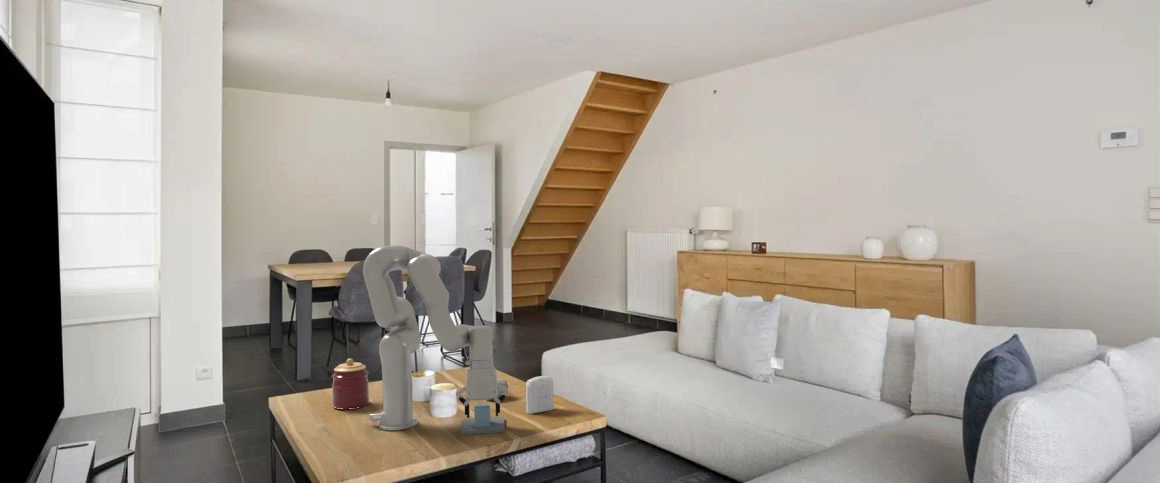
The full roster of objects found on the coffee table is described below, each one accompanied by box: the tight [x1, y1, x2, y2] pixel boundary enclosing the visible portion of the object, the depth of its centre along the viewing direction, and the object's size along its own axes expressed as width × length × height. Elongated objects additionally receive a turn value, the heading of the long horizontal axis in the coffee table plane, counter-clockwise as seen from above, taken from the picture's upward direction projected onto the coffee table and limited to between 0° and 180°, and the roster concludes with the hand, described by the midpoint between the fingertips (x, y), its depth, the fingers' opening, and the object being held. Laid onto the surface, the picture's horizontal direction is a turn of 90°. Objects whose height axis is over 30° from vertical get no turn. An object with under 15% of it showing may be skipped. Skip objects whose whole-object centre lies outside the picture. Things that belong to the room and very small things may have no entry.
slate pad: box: [459, 416, 506, 436], centre depth 206 cm, size 14×13×1 cm
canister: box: [331, 358, 370, 409], centre depth 234 cm, size 13×13×18 cm
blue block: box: [473, 403, 491, 427], centre depth 205 cm, size 5×5×6 cm
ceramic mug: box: [486, 378, 509, 402], centre depth 241 cm, size 11×8×8 cm
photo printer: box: [525, 375, 554, 415], centre depth 222 cm, size 10×4×12 cm, turn 123°
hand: (482, 415), depth 205 cm, fingers open, 9 cm apart
